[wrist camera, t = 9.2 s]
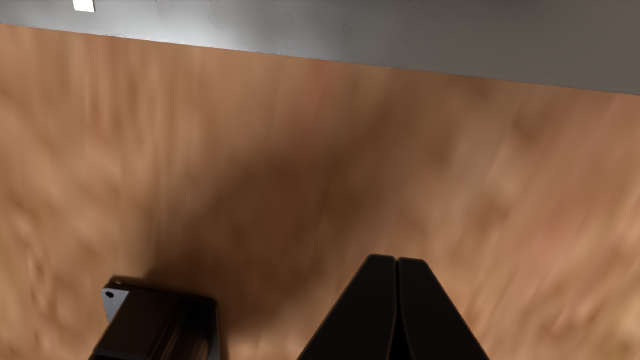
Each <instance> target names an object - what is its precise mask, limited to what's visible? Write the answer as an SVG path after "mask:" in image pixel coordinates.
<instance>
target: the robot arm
mask: <svg viewBox="0 0 640 360" xmlns="http://www.w3.org/2000/svg"><path fill="white" fill-rule="evenodd" d="M101 295H102V299H103V303H104V307H105V311H106V314H107V318H108V322H109V325H108V326H107V328H106V329H105V331H104V333H103V334H102V336H101V337H100V339H99V341H98V342H97V344H96V345H95V347H94V349H93V352H92V354H91V355H90V357H89V358H88V360H222V354H221V341H220V327H219V314H218V305H217V303H216V302H215V301H214V300H212V299H210V298H204V297H198V296H192V295H185V294H179V293H172V292H166V291H159V290H153V289H147V288H140V287H134V286H127V285H121V284H115V283H107V284H106V285H105V286H104V287H103V289H102V290H101ZM297 360H490V359H489V357H488V356H487V354H486V353H485V351H484V350H483V348H482V347H481V345H480V343H479V342H478V340H477V339H476V337H475V336H474V334H473V333H472V331H471V330H470V328H469V327H468V325H467V324H466V322H465V321H464V319H463V318H462V316H461V314H460V313H459V311H458V310H457V308H456V307H455V305H454V304H453V302H452V301H451V299H450V298H449V296H448V295H447V293H446V292H445V290H444V289H443V287H442V286H441V284H440V282H439V281H438V279H437V278H436V276H435V275H434V273H433V272H432V270H431V269H430V267H429V266H428V264H427V263H426V262H425V261H424V260H422V259H415V258H407V257H399V258H398V259H397V261H396V259H395V257H394V256H390V255H381V254H369V255H368V256H367V257H366V259H365V260H364V262H363V263H362V265H361V266H360V267H359V269H358V270H357V272H356V273H355V275H354V276H353V278H352V279H351V281H350V282H349V284H348V285H347V286H346V288H345V289H344V291H343V292H342V294H341V295H340V297H339V298H338V300H337V301H336V303H335V304H334V305H333V307H332V308H331V310H330V311H329V313H328V314H327V316H326V317H325V319H324V320H323V322H322V323H321V324H320V326H319V327H318V329H317V330H316V332H315V333H314V335H313V336H312V338H311V339H310V341H309V342H308V343H307V345H306V346H305V348H304V349H303V351H302V352H301V354H300V355H299V357H298V358H297Z"/></svg>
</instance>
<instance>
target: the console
mask: <svg viewBox="0 0 640 360" xmlns="http://www.w3.org/2000/svg"><path fill="white" fill-rule="evenodd" d="M0 23H1V24H10V25H19V26H27V27H36V28H45V29H54V30H63V31H72V32H81V33H90V34H99V35H108V36H117V37H125V38H134V39H143V40H152V41H161V42H170V43H179V44H188V45H197V46H206V47H214V48H223V49H232V50H241V51H250V52H259V53H268V54H277V55H286V56H295V57H304V58H312V59H321V60H330V61H339V62H348V63H357V64H366V65H375V66H384V67H393V68H401V69H410V70H419V71H428V72H437V73H446V74H455V75H464V76H473V77H482V78H491V79H499V80H508V81H517V82H526V83H535V84H544V85H553V86H562V87H571V88H580V89H588V90H597V91H606V92H615V93H624V94H633V95H640V0H0Z"/></svg>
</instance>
